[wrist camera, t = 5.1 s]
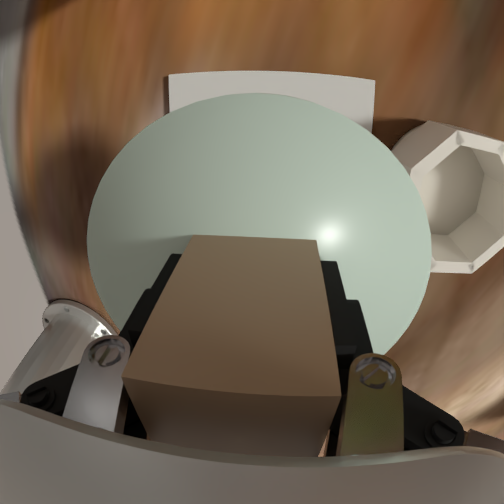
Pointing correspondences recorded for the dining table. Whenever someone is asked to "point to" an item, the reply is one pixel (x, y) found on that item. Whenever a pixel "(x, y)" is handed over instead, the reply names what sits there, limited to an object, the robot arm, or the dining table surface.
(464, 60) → the dining table surface
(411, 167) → the bowl
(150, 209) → the lid
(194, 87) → the mat
